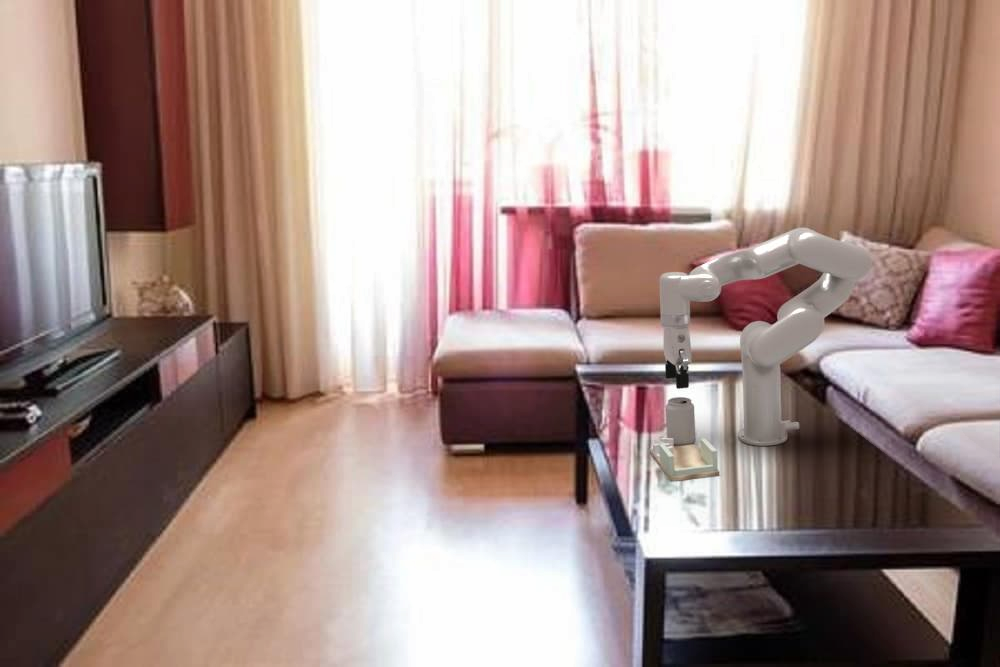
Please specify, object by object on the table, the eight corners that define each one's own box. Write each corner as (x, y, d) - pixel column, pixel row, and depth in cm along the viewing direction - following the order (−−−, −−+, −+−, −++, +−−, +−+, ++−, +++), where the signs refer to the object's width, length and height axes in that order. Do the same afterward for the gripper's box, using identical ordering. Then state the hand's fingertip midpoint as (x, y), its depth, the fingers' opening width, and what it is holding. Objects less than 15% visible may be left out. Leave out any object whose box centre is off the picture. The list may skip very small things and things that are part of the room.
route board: (694, 447, 234) (694, 444, 233) (719, 475, 215) (719, 471, 214) (649, 453, 233) (649, 449, 232) (671, 481, 214) (671, 477, 213)
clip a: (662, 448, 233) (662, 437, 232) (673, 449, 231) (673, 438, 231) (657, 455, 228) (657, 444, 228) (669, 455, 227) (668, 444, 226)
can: (695, 447, 234) (693, 404, 231) (666, 447, 236) (664, 404, 233) (695, 437, 241) (693, 395, 238) (667, 437, 243) (665, 395, 240)
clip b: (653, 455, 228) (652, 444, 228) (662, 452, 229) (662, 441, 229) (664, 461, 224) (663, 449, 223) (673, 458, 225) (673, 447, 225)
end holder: (705, 457, 224) (705, 438, 223) (718, 471, 215) (718, 451, 214) (659, 462, 223) (658, 444, 222) (670, 477, 214) (669, 457, 213)
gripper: (699, 325, 222) (701, 390, 226) (679, 312, 239) (681, 372, 243) (670, 328, 222) (672, 393, 226) (652, 314, 239) (654, 375, 243)
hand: (677, 382), depth 234 cm, fingers open, 9 cm apart
